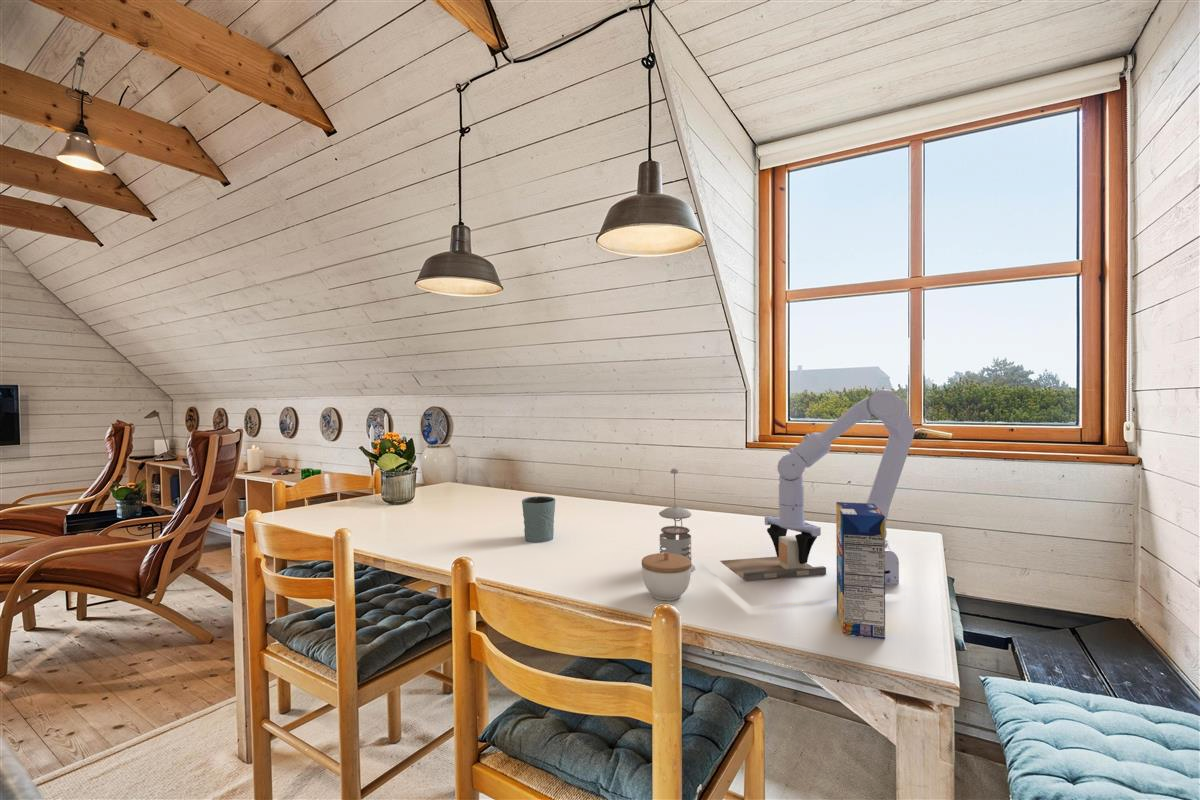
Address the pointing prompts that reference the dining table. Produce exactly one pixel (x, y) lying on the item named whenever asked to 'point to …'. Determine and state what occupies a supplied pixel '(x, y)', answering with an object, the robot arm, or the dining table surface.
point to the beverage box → (860, 569)
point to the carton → (789, 553)
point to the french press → (676, 531)
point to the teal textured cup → (538, 518)
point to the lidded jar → (666, 575)
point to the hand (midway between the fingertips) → (791, 559)
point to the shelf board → (769, 569)
